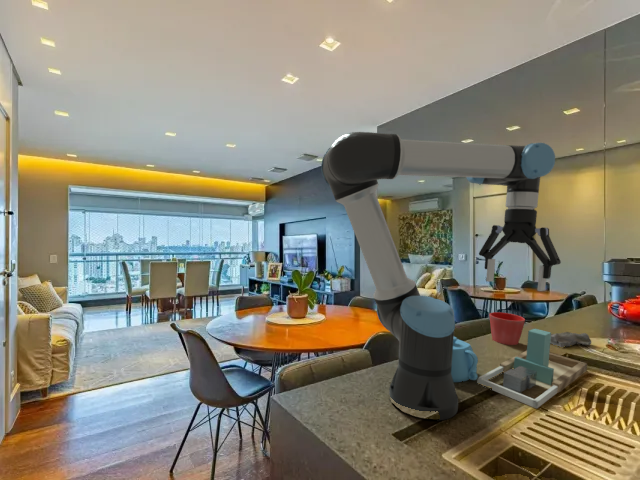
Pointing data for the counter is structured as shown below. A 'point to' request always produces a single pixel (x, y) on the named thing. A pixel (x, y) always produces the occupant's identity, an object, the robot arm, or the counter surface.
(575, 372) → the slot board
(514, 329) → the flower pot
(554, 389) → the tray
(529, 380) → the block
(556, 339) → the stone
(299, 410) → the counter surface
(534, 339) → the rake tool
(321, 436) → the counter surface
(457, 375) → the teapot
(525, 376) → the block
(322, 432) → the counter surface
